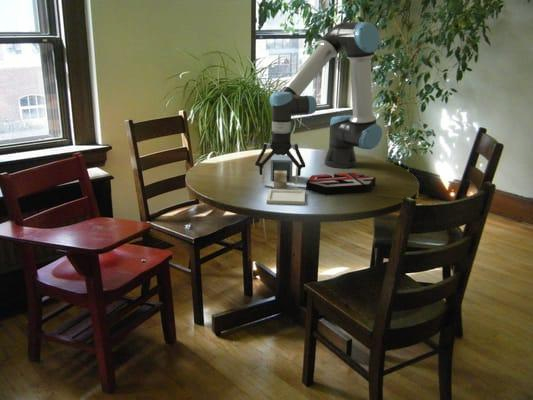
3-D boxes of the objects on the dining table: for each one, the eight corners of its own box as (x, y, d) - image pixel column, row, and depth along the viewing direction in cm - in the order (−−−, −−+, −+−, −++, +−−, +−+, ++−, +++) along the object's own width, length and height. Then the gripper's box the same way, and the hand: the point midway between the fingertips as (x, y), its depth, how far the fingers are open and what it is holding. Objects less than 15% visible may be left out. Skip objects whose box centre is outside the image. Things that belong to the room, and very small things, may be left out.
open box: (292, 175, 234) (292, 155, 231) (291, 181, 225) (292, 160, 223) (271, 175, 235) (272, 154, 232) (270, 180, 226) (270, 159, 223)
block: (286, 184, 221) (286, 170, 219) (286, 188, 216) (286, 174, 214) (274, 184, 221) (274, 170, 219) (273, 187, 216) (274, 173, 215)
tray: (304, 193, 210) (304, 190, 209) (304, 205, 196) (304, 201, 196) (269, 192, 210) (269, 189, 210) (266, 203, 197) (266, 200, 197)
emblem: (314, 197, 206) (384, 192, 214) (314, 188, 205) (385, 183, 213) (299, 184, 223) (365, 180, 230) (300, 175, 221) (366, 171, 229)
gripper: (249, 132, 209) (248, 184, 215) (312, 134, 207) (310, 186, 214) (250, 129, 216) (250, 179, 222) (312, 131, 214) (310, 181, 221)
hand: (279, 183), depth 218 cm, fingers open, 13 cm apart
